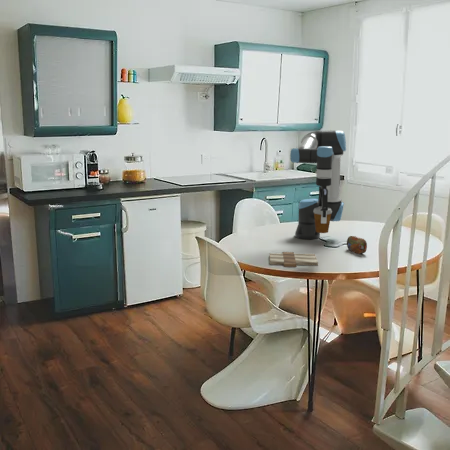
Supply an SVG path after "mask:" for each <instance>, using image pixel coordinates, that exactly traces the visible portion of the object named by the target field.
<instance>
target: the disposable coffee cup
mask: <svg viewBox="0 0 450 450" xmlns="http://www.w3.org/2000/svg"><path fill="white" fill-rule="evenodd" d="M321 209H322V207H318V208H314V211H313V212H314V217H315V228H316V232H318V233H320V234H327V233H329V228H330V222H331V221H330V218H331V213H332V210H331V208H328V210H327V223H321V211H320V210H321Z"/></svg>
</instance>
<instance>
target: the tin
mask: <svg viewBox="0 0 450 450" xmlns="http://www.w3.org/2000/svg"><path fill="white" fill-rule="evenodd" d="M346 247H347V249H348V250H349V251H350V252H353V253H355V254H359V255H360V254H364V253H366V251H367V248H368V243H367V241H366V239H365V238H361V237H358V236H356V235H350V236H348V237H347V240H346Z"/></svg>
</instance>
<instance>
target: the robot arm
mask: <svg viewBox="0 0 450 450" xmlns="http://www.w3.org/2000/svg"><path fill="white" fill-rule="evenodd" d="M346 151H347V140H346V134H345V132H344V131H343V130H313V131H311V132H309V133H307V134H305V135H304V136H303V137H302V139H301V141H300V145H299V146H298V148H297V147H296V148H291V149H290V155H289V156H290V161H291V163H293V164H294V163H295V164H316V170H314V171H315V173H316V179H315V185H316V186H317V187H318V198H306V199H305V198H304V199H301V200H300V201H299V202H298V203H299V204H298V220H297V221H298V223H297V227H296V229H295V232H294V234H295V235H294V237H296V238H297V239H300V240H301V239H302V240H316V239H317V240H318V239H319V238H320V237H321V233H318V232H316V228H315V217H314V212H313V211H314V208H318V207H322V209H321V210H320V211H321V223H327V210H328V208H331V210H332V213H331V218H330V222H340V221H341V220H342V216H343V211H344V207H345V206H344V205H345V203H344V202H343V201H342V197H340V183H341V182H340V181H341V158H342V156H343V155H344V152H346Z"/></svg>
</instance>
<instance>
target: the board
mask: <svg viewBox="0 0 450 450" xmlns="http://www.w3.org/2000/svg"><path fill="white" fill-rule="evenodd" d="M269 264H270V265H275V266H277V265H278V266H284V267H285V268H286V267H289V268H292V267H293V268H295V267H297V266H319V262H318V259H317V256H316V254H315V253H294V252H293V251H290V252H289V251H283V252H282V253H277V252H275V253H271V252H270V253H269Z"/></svg>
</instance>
